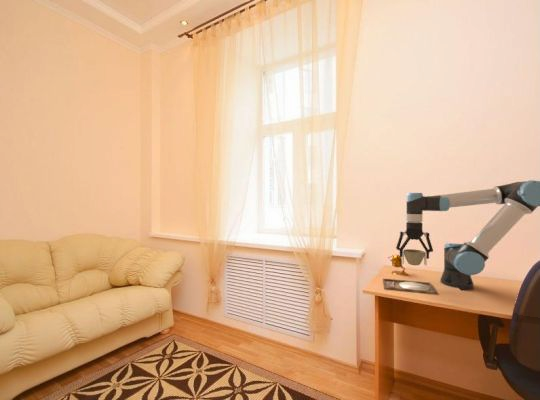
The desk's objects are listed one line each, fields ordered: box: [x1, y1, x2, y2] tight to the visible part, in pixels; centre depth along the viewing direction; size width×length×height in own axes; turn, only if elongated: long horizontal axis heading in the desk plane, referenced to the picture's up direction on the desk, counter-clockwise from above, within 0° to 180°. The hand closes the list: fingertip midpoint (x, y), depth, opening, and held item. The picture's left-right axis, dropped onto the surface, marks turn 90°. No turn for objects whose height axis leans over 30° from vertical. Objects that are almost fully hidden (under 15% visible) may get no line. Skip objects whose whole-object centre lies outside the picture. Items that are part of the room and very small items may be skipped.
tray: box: [382, 278, 438, 295], centre depth 148 cm, size 24×16×2 cm, turn 71°
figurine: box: [387, 254, 408, 276], centre depth 175 cm, size 9×11×12 cm
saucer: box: [399, 282, 429, 291], centre depth 147 cm, size 14×14×1 cm
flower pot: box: [403, 248, 426, 266], centre depth 147 cm, size 10×10×7 cm
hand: (414, 263), depth 147 cm, fingers closed on flower pot, 10 cm apart
